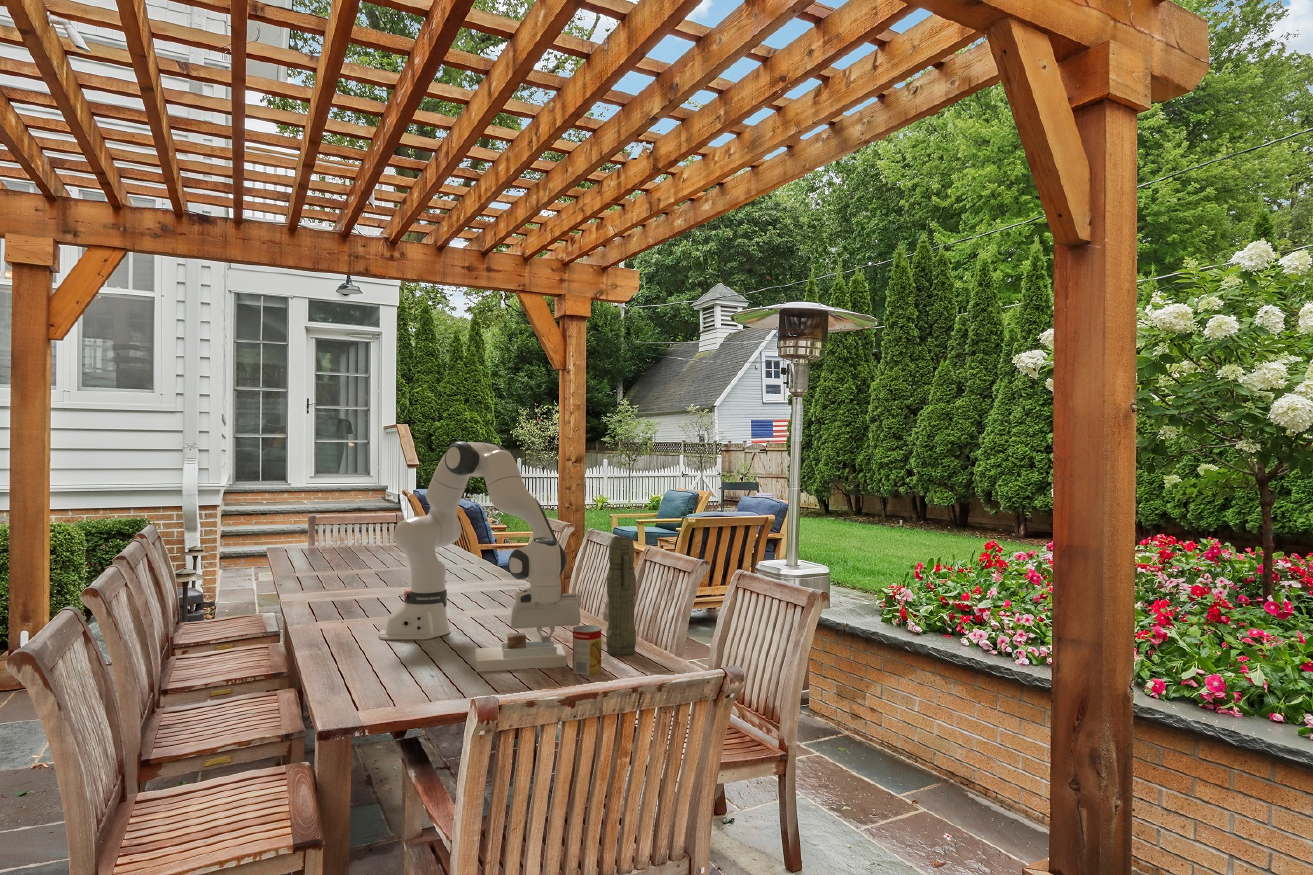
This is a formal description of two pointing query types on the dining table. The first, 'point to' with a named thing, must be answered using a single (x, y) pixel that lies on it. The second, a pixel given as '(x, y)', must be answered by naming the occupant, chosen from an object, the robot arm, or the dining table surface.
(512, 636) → the walnut block
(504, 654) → the channel
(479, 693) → the dining table surface
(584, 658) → the canned food
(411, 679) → the dining table surface
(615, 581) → the thermos
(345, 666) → the dining table surface
